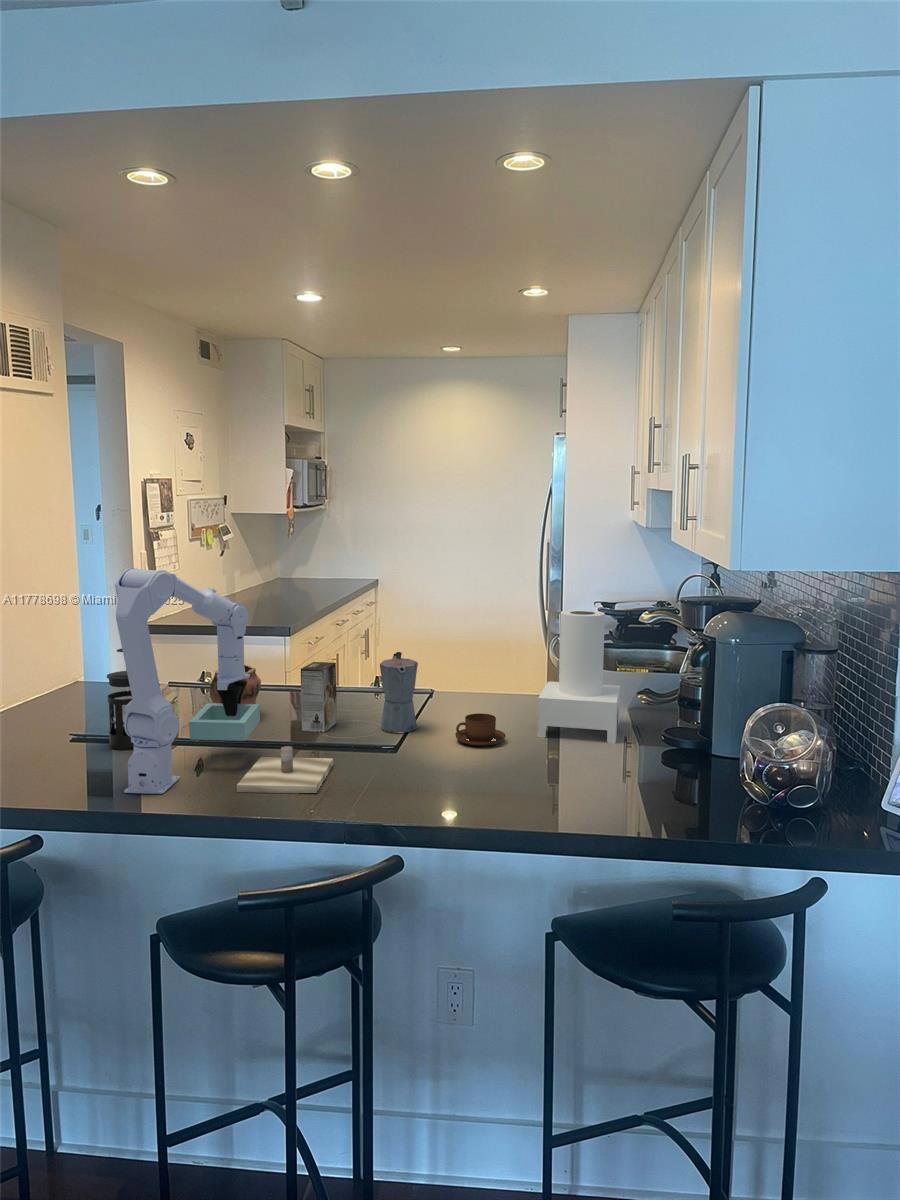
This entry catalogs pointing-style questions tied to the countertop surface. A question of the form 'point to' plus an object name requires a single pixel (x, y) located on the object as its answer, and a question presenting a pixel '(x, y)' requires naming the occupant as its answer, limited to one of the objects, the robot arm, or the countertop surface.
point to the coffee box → (318, 696)
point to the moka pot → (398, 694)
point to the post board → (286, 774)
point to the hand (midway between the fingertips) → (232, 714)
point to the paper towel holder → (580, 679)
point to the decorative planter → (249, 691)
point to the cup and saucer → (479, 730)
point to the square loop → (224, 722)
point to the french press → (119, 711)
